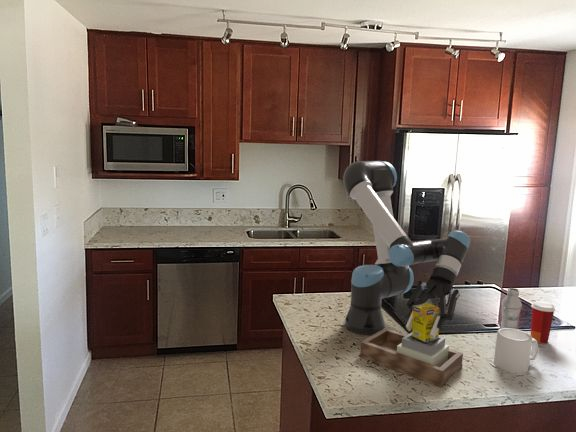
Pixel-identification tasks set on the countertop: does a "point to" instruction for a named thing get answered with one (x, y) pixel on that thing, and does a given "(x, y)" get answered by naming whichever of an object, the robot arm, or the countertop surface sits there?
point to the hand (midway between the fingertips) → (419, 332)
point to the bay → (408, 358)
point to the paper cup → (541, 321)
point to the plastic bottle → (511, 309)
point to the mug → (514, 350)
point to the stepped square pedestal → (425, 350)
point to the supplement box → (424, 322)
